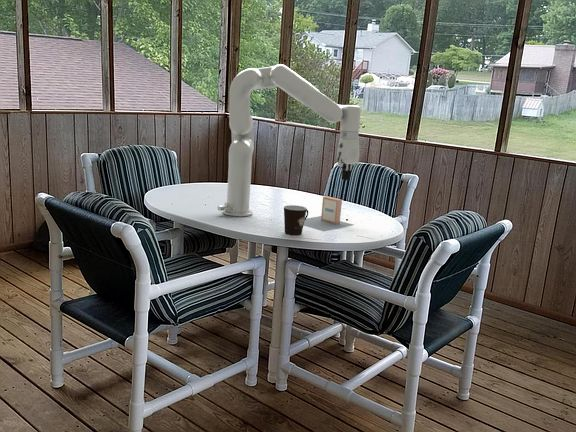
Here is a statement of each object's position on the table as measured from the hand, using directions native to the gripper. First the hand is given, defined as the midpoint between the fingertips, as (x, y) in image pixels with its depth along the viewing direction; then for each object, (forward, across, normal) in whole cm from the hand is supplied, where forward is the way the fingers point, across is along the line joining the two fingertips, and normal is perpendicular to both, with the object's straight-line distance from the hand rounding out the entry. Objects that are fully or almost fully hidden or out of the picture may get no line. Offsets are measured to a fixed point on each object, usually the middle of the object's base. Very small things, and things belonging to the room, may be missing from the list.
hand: (345, 179), depth 233 cm
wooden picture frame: (+17, -8, 0) cm, 19 cm away
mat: (+18, -12, +1) cm, 22 cm away
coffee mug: (+18, -32, -3) cm, 37 cm away
